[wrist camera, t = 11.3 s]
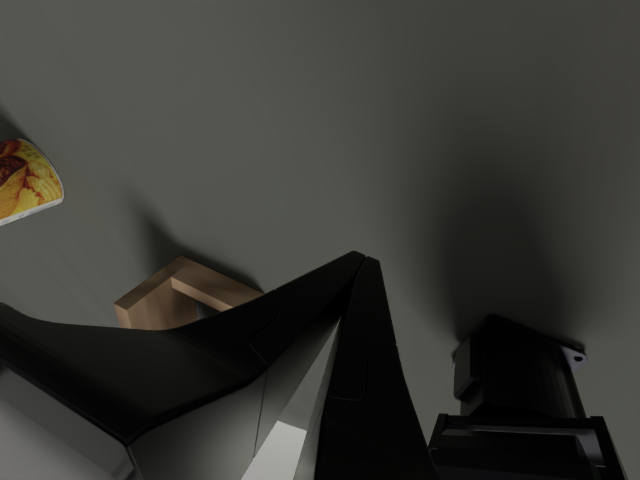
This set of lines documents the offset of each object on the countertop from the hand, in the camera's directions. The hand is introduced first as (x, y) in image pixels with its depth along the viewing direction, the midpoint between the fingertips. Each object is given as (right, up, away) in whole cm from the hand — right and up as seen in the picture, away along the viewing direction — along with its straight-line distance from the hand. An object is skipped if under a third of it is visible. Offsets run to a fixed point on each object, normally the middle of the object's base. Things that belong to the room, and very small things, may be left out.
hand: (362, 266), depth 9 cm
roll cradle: (-13, -10, +28) cm, 32 cm away
